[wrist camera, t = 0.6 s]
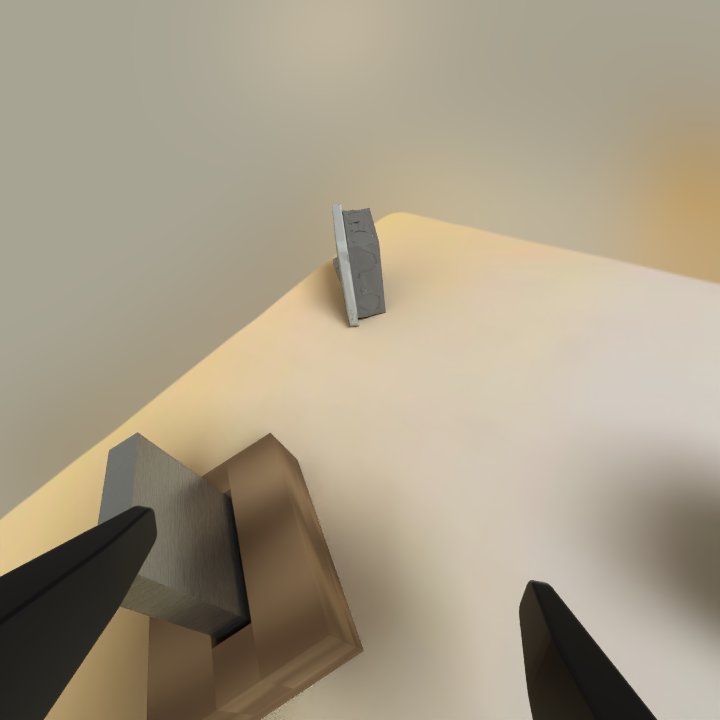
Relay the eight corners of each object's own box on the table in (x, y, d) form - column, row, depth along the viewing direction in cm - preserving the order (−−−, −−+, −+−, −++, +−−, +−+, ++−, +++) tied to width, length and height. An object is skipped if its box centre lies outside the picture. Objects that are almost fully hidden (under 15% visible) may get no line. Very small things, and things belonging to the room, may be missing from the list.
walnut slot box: (363, 650, 21) (330, 634, 19) (202, 757, 21) (145, 757, 18) (297, 459, 32) (270, 432, 29) (189, 529, 32) (152, 508, 29)
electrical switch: (345, 282, 47) (316, 209, 41) (387, 268, 46) (364, 191, 40) (352, 332, 40) (317, 253, 34) (401, 317, 40) (375, 233, 33)
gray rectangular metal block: (276, 630, 23) (127, 569, 16) (248, 648, 23) (87, 595, 16) (252, 514, 29) (137, 432, 22) (231, 528, 29) (109, 450, 22)
